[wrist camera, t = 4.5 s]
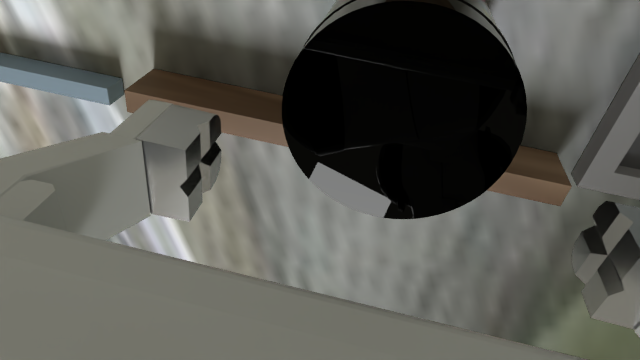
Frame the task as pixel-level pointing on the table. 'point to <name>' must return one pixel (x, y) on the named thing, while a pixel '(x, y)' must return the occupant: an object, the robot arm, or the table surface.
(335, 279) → the table surface
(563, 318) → the table surface
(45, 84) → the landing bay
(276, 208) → the table surface
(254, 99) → the channel
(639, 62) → the tray
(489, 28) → the supplement container
